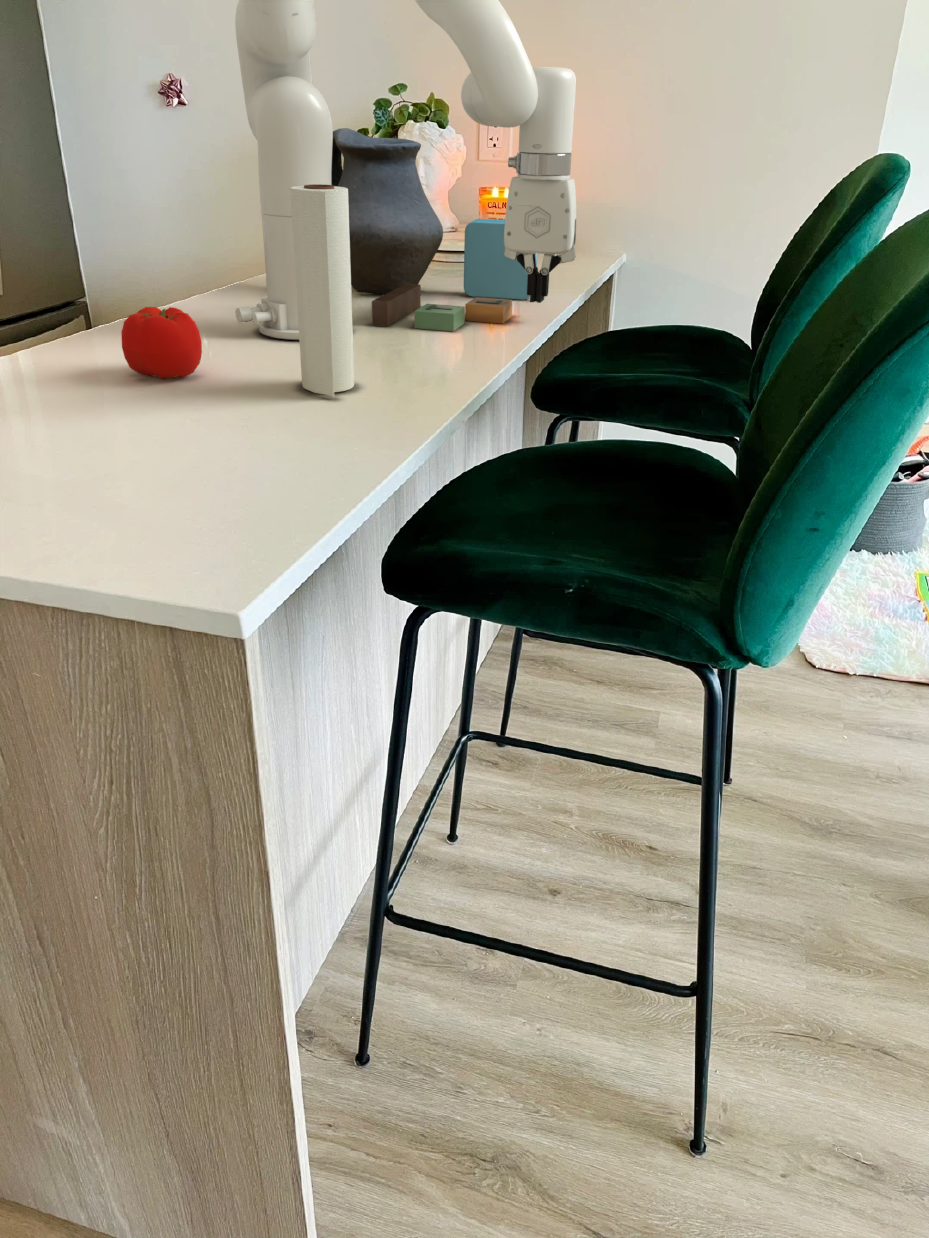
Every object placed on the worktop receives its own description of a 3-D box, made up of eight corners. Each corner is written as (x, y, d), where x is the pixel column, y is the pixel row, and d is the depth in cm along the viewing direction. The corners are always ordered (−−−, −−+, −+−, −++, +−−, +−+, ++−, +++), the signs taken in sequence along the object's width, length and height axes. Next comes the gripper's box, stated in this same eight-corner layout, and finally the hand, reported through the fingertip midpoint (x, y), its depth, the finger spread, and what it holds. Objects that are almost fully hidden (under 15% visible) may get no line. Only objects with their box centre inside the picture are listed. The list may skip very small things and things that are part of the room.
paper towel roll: (318, 378, 113) (308, 182, 103) (363, 384, 111) (357, 185, 101) (286, 393, 107) (273, 186, 97) (334, 399, 105) (325, 190, 95)
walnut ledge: (387, 326, 139) (387, 302, 138) (372, 325, 140) (371, 301, 138) (420, 307, 153) (420, 284, 151) (406, 306, 153) (406, 283, 152)
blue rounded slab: (536, 296, 164) (540, 221, 158) (532, 300, 160) (536, 224, 154) (468, 292, 166) (470, 218, 160) (462, 296, 162) (464, 221, 156)
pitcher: (396, 306, 153) (394, 133, 141) (293, 291, 163) (283, 128, 151) (463, 288, 168) (466, 131, 156) (365, 275, 178) (361, 127, 166)
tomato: (167, 389, 107) (159, 321, 104) (111, 377, 111) (101, 312, 108) (223, 372, 115) (217, 308, 111) (169, 361, 118) (161, 299, 115)
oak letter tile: (503, 324, 143) (503, 306, 142) (464, 320, 144) (465, 303, 143) (511, 316, 148) (512, 299, 147) (474, 313, 150) (475, 296, 148)
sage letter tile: (453, 331, 138) (453, 313, 136) (414, 328, 139) (414, 310, 138) (464, 323, 143) (465, 305, 141) (426, 320, 144) (426, 302, 143)
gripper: (486, 167, 133) (483, 302, 142) (592, 171, 129) (581, 309, 138) (499, 164, 139) (495, 293, 148) (600, 167, 136) (589, 300, 145)
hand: (537, 300), depth 143 cm, fingers closed
